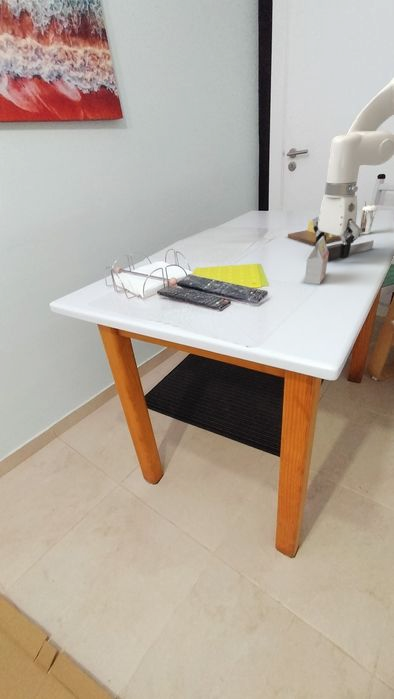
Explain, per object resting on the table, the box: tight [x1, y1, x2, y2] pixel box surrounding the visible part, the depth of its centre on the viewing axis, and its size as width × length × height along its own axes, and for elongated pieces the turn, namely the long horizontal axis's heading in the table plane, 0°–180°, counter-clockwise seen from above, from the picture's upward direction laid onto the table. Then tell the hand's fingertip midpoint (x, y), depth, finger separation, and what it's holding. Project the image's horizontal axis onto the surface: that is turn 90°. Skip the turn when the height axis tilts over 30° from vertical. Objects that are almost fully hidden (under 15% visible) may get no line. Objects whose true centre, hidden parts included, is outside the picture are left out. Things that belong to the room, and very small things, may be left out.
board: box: [287, 229, 361, 247], centre depth 119 cm, size 20×14×1 cm
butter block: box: [307, 219, 315, 233], centre depth 120 cm, size 4×6×4 cm, turn 24°
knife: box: [326, 240, 375, 261], centre depth 100 cm, size 21×2×4 cm, turn 114°
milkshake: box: [359, 200, 378, 235], centre depth 117 cm, size 4×5×10 cm
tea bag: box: [304, 236, 329, 285], centre depth 84 cm, size 4×7×10 cm, turn 151°
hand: (331, 253), depth 98 cm, fingers open, 9 cm apart
